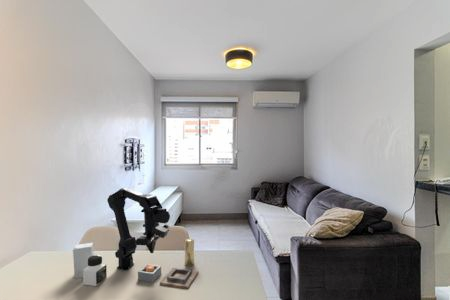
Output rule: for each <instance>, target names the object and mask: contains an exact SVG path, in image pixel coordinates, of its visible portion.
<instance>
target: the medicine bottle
mask: <svg viewBox="0 0 450 300" xmlns="http://www.w3.org/2000/svg"><path fill="white" fill-rule="evenodd" d="M82 278H83V282H82V283H83V285H84V286H85V285H86V286H93V287H97V286H99V285H100V284H101V283H103V282H104V281H105V280H106V279H107V264H106V263H103V256H102V255H101V254H95V255H93V256H91V257H89V258H88V267H87V268H85V269H84V270H83V277H82Z"/></svg>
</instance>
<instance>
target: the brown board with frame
mask: <svg viewBox="0 0 450 300" xmlns="http://www.w3.org/2000/svg"><path fill="white" fill-rule="evenodd" d="M198 274H199V270H192V269H186V268H179V267H172V268H171V269H170V270H169V272H168V273H167V274H165V276H164V277H163V278H162V279H161V281H160V282H159V286H165V287H166V286H167V287H174V288H181V289H187V290H188V289H189V287H190V286H191V285H192V283H193V282H194V280H195V279H196V277H197V276H198Z"/></svg>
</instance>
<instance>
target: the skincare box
mask: <svg viewBox="0 0 450 300" xmlns="http://www.w3.org/2000/svg"><path fill="white" fill-rule="evenodd" d="M72 253H73V274H74V275H73V277H74V279H78V278H83V270H84V269H85V268H87V267H88V258H89V257H91V256H93V255H94V242H87V243H81V244H80V243H79V244H75V245H74V248H73V249H72Z"/></svg>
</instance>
